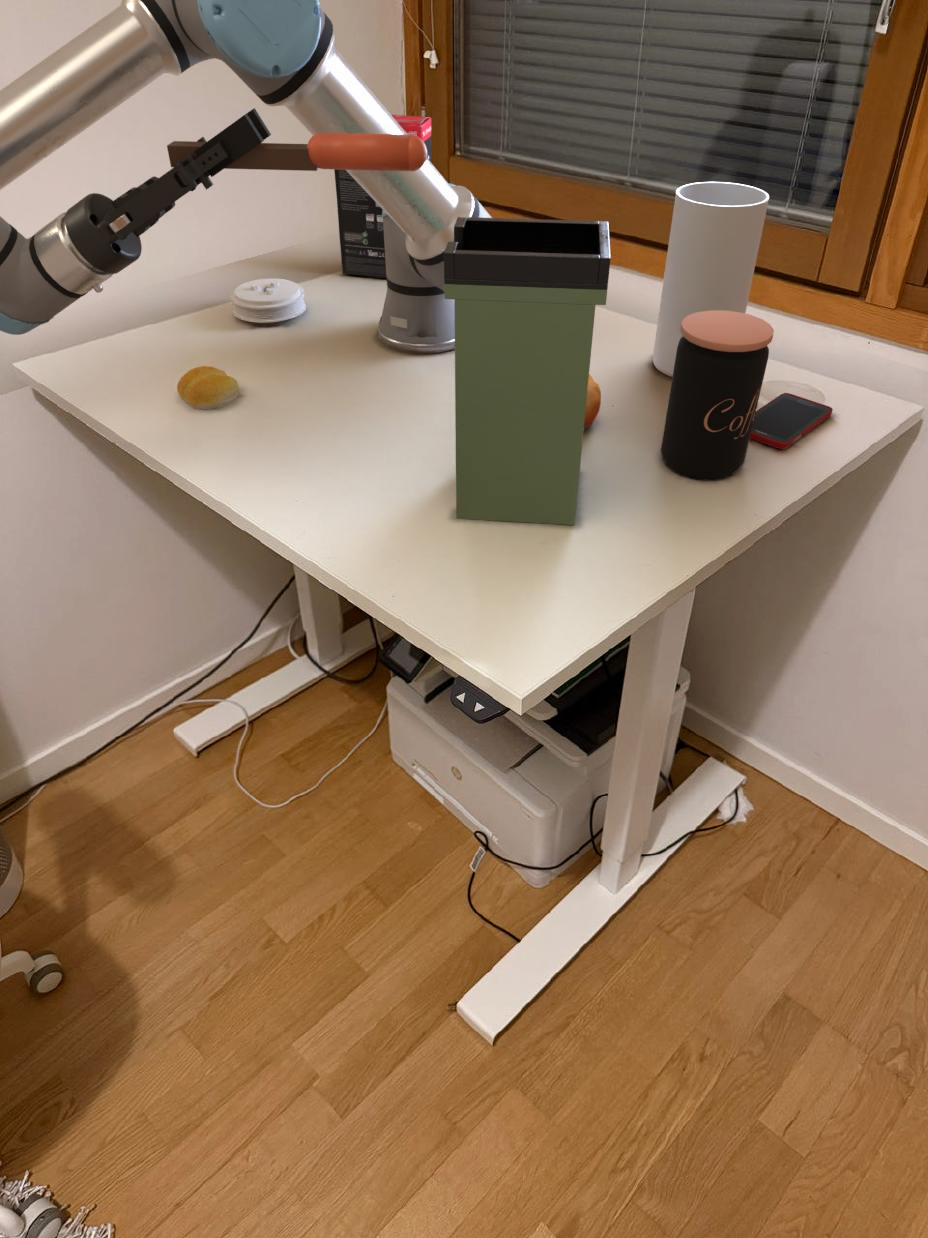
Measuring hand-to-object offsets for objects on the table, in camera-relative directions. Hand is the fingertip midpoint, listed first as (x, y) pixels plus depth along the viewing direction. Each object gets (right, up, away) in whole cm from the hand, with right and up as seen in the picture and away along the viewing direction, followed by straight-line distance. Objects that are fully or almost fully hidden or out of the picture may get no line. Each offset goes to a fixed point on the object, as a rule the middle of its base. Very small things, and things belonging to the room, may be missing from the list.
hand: (257, 124), depth 86 cm
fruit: (+35, -21, +37) cm, 55 cm away
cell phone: (+65, -21, +36) cm, 77 cm away
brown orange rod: (+4, -3, +2) cm, 5 cm away
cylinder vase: (+56, -9, +51) cm, 76 cm away
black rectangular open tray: (+27, -12, +4) cm, 30 cm away
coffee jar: (+51, -28, +28) cm, 65 cm away
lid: (-14, +5, +68) cm, 69 cm away
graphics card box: (+6, +18, +83) cm, 85 cm away
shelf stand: (+27, -33, +22) cm, 48 cm away
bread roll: (-17, -16, +43) cm, 49 cm away
